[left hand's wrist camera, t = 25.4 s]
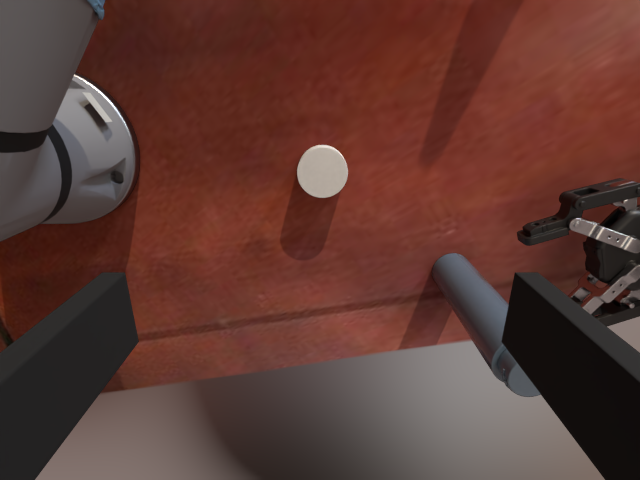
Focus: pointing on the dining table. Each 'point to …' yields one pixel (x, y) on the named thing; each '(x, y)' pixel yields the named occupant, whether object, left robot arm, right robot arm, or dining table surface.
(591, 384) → the left robot arm
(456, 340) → the dining table surface
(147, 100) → the dining table surface
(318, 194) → the lid
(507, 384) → the grey cylinder
